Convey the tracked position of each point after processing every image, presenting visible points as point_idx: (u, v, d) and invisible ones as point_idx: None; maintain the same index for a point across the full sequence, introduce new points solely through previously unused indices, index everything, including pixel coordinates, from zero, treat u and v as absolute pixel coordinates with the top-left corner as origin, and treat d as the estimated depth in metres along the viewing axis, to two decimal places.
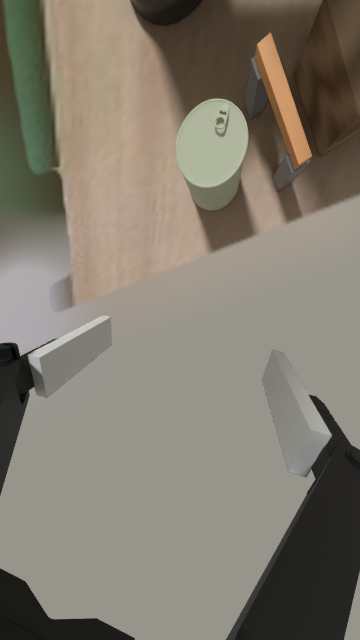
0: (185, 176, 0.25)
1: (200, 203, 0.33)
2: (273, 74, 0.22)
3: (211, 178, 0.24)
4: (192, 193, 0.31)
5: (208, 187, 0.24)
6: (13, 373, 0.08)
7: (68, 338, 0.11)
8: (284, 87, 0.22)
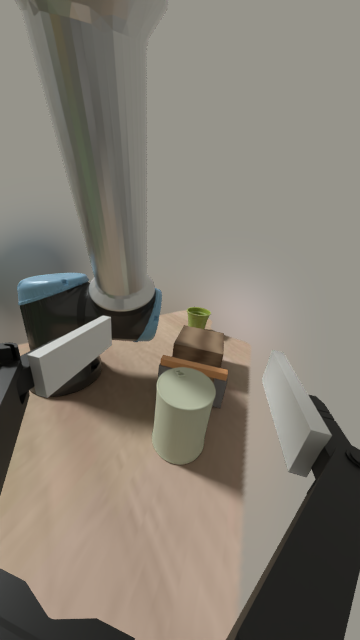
0: (188, 408, 0.24)
1: (189, 452, 0.28)
2: (178, 361, 0.39)
3: (205, 397, 0.26)
4: (183, 441, 0.26)
5: (210, 402, 0.26)
6: (13, 373, 0.08)
7: (68, 338, 0.11)
8: (187, 361, 0.39)
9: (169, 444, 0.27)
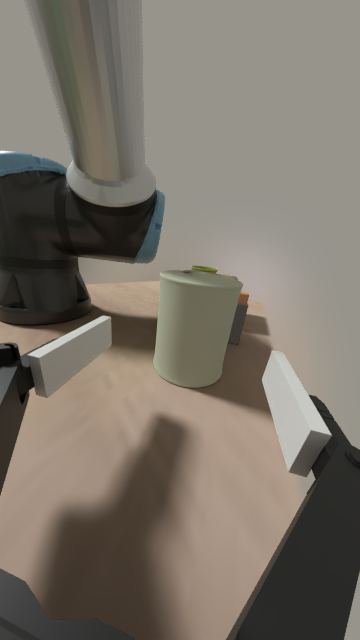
0: (207, 285, 0.16)
1: (205, 369, 0.20)
2: None
3: (230, 284, 0.19)
4: (198, 347, 0.19)
5: (238, 285, 0.18)
6: (13, 373, 0.08)
7: (68, 338, 0.11)
8: None
9: (178, 354, 0.19)
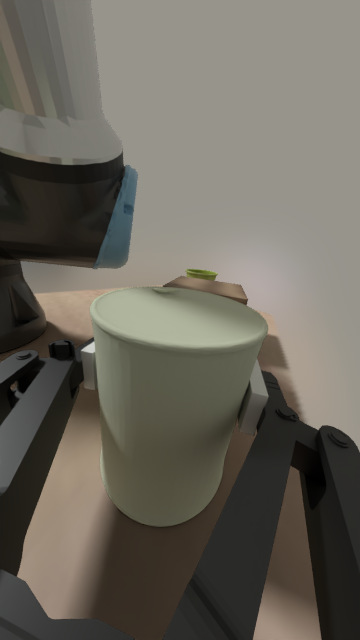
0: (184, 344, 0.06)
1: (190, 494, 0.10)
2: None
3: (241, 326, 0.08)
4: (170, 465, 0.08)
5: (261, 335, 0.08)
6: (67, 369, 0.09)
7: None
8: None
9: (130, 472, 0.09)
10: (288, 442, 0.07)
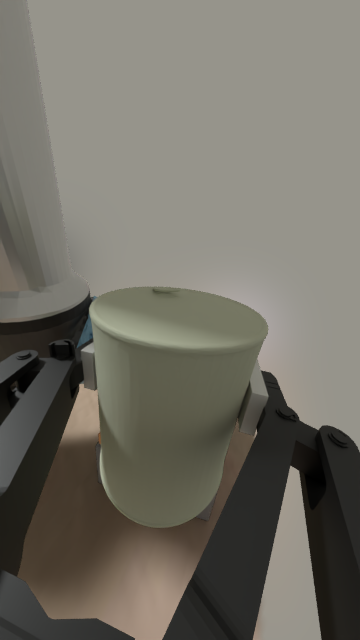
0: (184, 345, 0.06)
1: (190, 495, 0.10)
2: None
3: (241, 327, 0.08)
4: (169, 466, 0.08)
5: (261, 335, 0.07)
6: (67, 369, 0.09)
7: None
8: None
9: (129, 473, 0.09)
10: (288, 442, 0.07)
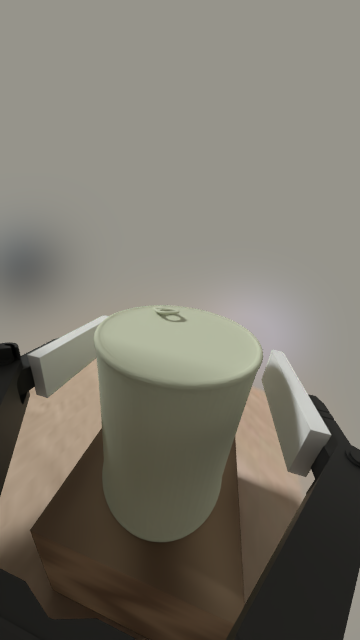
0: (184, 381, 0.07)
1: (189, 511, 0.10)
2: None
3: (237, 355, 0.09)
4: (170, 487, 0.09)
5: (256, 366, 0.08)
6: (13, 373, 0.08)
7: (68, 338, 0.12)
8: None
9: (132, 492, 0.10)
10: None
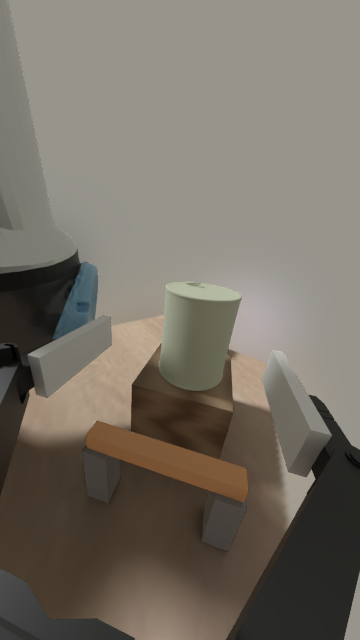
0: (209, 299, 0.18)
1: (208, 374, 0.22)
2: (126, 442, 0.16)
3: (230, 297, 0.20)
4: (200, 354, 0.20)
5: (237, 299, 0.19)
6: (13, 373, 0.08)
7: (68, 338, 0.11)
8: (149, 442, 0.16)
9: (182, 361, 0.21)
10: None
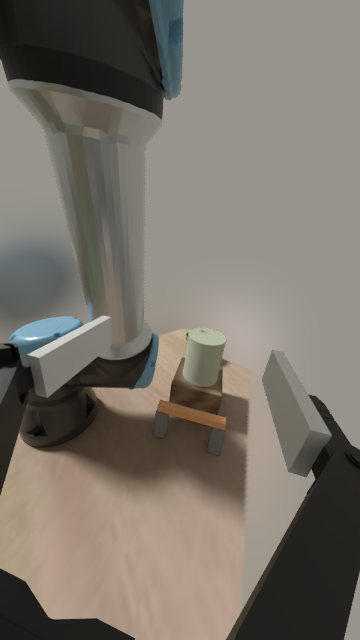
0: (210, 344, 0.40)
1: (209, 378, 0.43)
2: (175, 408, 0.38)
3: (220, 341, 0.42)
4: (206, 368, 0.42)
5: (223, 343, 0.41)
6: (13, 373, 0.08)
7: (68, 338, 0.11)
8: (185, 408, 0.38)
9: (197, 372, 0.43)
10: None
